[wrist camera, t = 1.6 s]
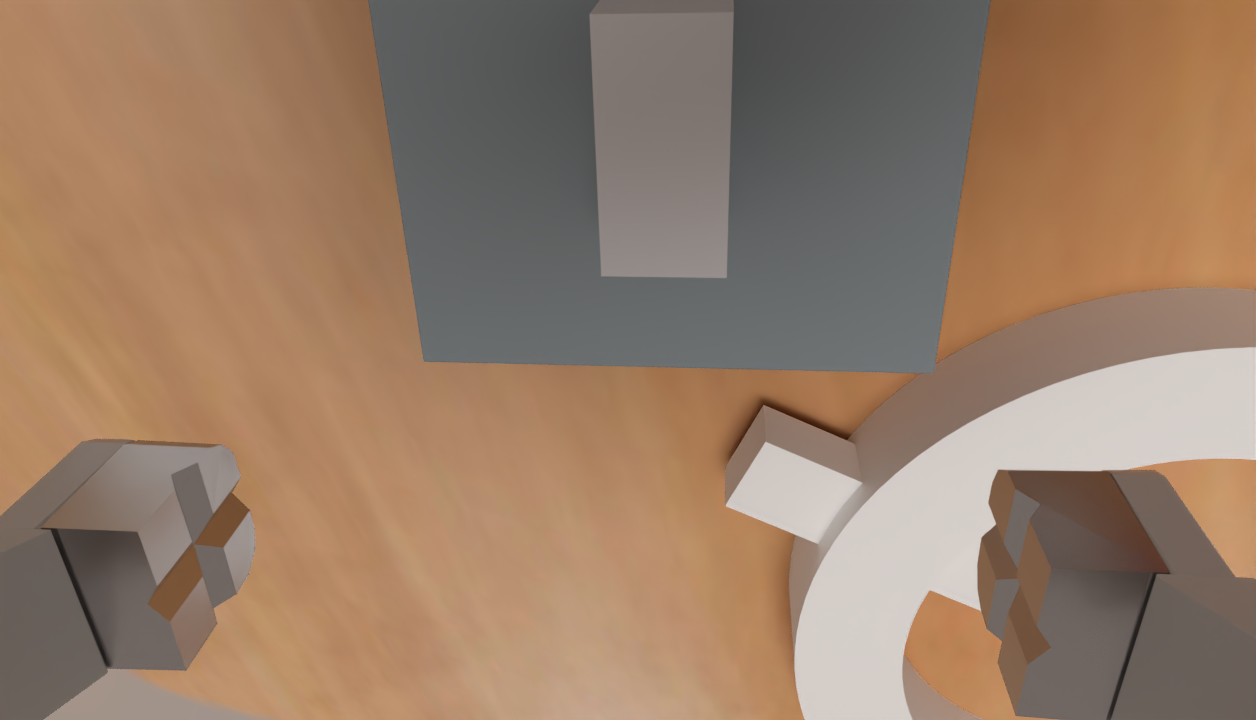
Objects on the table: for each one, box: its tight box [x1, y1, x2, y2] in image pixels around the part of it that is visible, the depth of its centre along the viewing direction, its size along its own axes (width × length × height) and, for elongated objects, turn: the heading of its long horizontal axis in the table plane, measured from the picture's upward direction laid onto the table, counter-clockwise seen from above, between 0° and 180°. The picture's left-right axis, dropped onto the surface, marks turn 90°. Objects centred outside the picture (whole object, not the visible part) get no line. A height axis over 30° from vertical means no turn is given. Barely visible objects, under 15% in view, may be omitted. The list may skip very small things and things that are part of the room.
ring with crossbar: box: [725, 288, 1256, 720], centre depth 39 cm, size 28×28×5 cm
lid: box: [368, 0, 991, 374], centre depth 23 cm, size 15×15×5 cm
